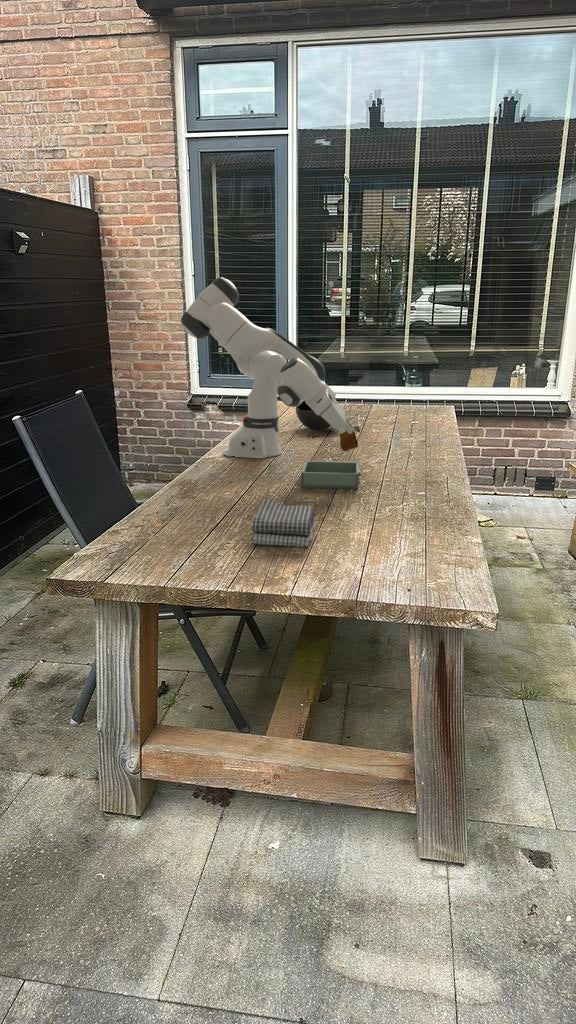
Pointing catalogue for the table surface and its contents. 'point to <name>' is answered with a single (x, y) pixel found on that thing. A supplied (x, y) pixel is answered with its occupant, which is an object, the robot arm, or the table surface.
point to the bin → (330, 475)
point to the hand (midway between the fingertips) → (351, 430)
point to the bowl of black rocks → (311, 418)
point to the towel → (283, 524)
